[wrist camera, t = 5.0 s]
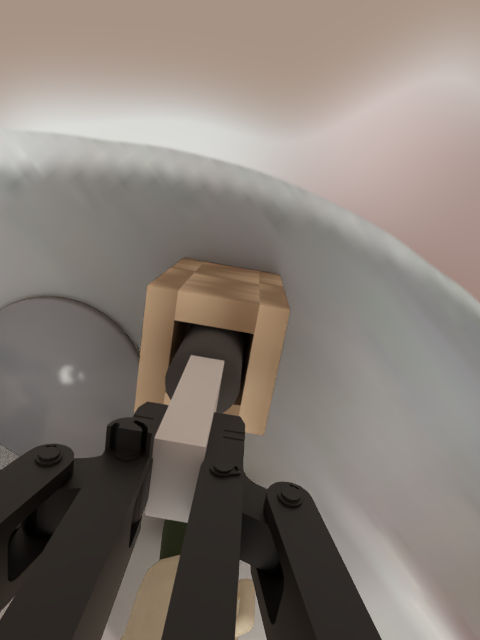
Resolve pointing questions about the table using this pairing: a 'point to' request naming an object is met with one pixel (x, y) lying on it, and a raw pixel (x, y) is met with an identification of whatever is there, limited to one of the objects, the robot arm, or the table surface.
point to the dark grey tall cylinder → (215, 347)
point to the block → (222, 312)
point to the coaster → (63, 375)
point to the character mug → (158, 586)
